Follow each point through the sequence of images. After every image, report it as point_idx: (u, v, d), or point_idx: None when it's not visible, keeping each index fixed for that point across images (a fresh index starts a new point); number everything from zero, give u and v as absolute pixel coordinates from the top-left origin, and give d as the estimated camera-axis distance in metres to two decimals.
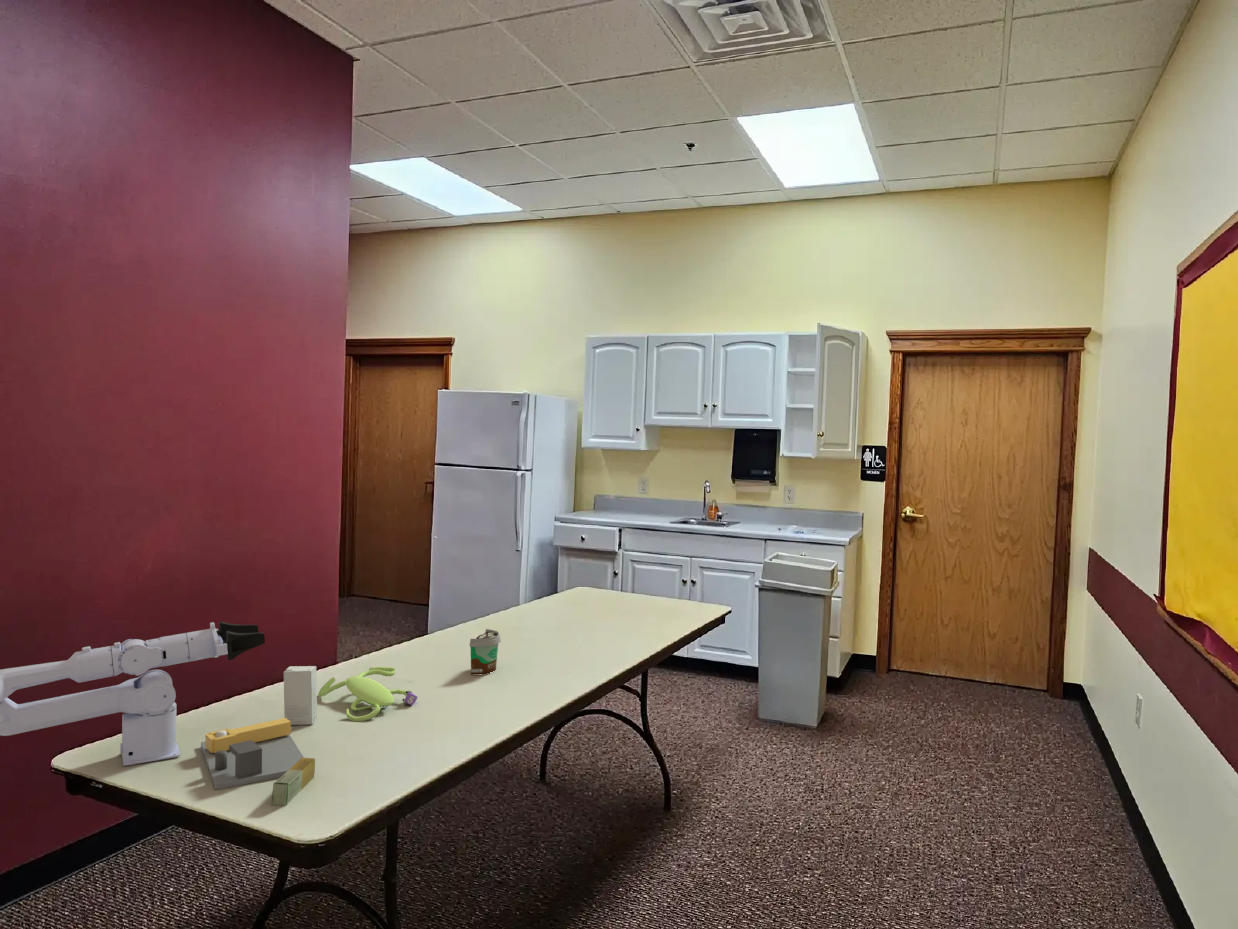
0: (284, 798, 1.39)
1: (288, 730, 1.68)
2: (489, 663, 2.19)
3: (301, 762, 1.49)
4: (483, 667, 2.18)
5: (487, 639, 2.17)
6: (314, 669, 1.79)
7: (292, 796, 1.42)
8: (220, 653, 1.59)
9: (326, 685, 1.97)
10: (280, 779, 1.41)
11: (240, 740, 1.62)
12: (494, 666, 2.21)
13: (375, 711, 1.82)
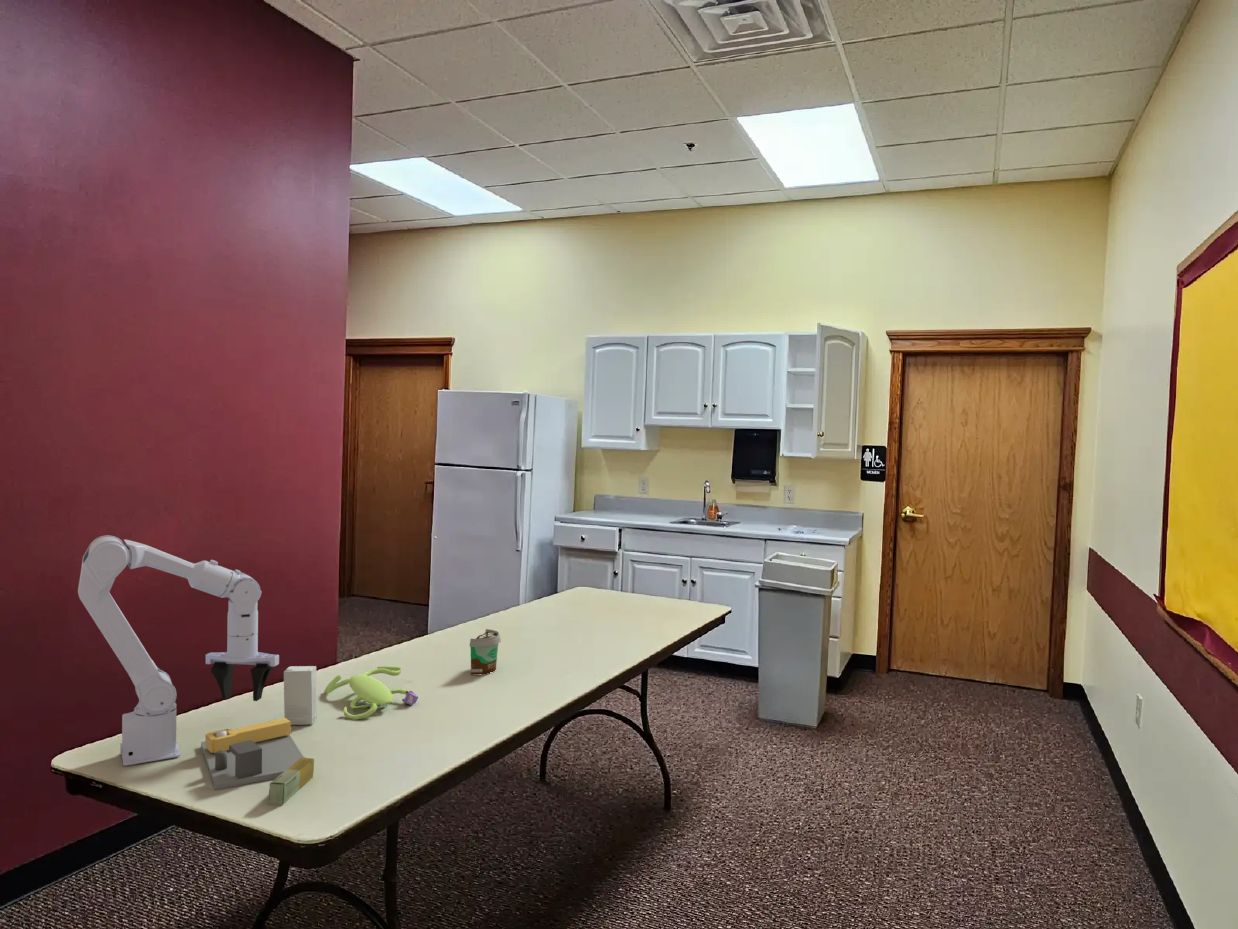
0: (280, 798, 1.39)
1: (288, 730, 1.68)
2: (489, 663, 2.19)
3: (300, 762, 1.49)
4: (483, 667, 2.18)
5: (487, 639, 2.17)
6: (314, 669, 1.79)
7: (289, 796, 1.42)
8: (275, 659, 1.67)
9: (331, 683, 1.99)
10: (277, 779, 1.41)
11: (240, 740, 1.62)
12: (494, 666, 2.21)
13: (371, 710, 1.83)
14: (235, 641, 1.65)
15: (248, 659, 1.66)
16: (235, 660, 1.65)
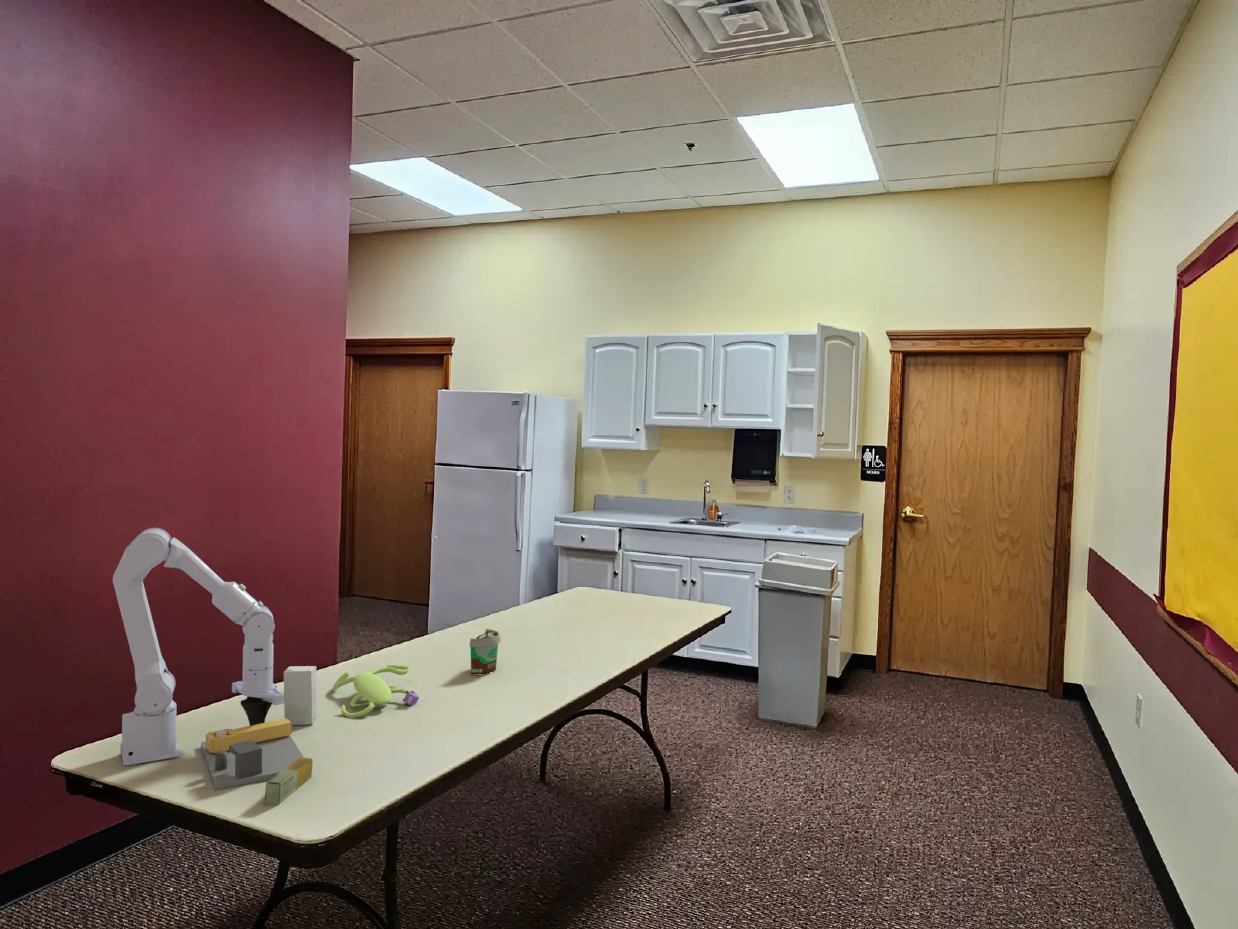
0: (276, 797, 1.39)
1: (288, 730, 1.68)
2: (489, 663, 2.19)
3: (298, 762, 1.49)
4: (483, 667, 2.18)
5: (487, 639, 2.17)
6: (314, 669, 1.79)
7: (286, 796, 1.42)
8: (277, 698, 1.63)
9: (338, 680, 2.02)
10: (273, 778, 1.41)
11: (240, 740, 1.61)
12: (494, 666, 2.21)
13: (367, 709, 1.83)
14: (245, 674, 1.65)
15: (254, 694, 1.64)
16: (244, 693, 1.64)
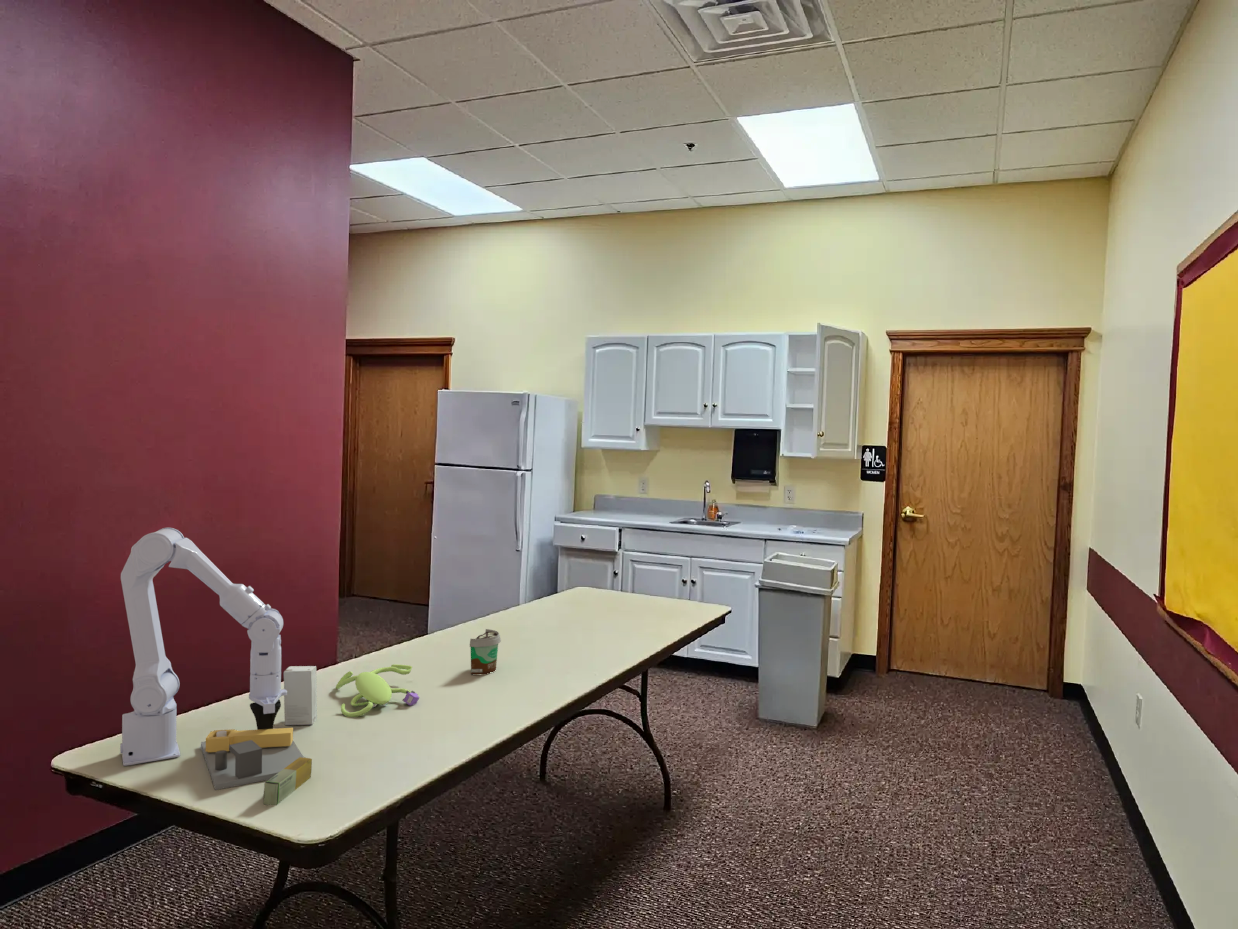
0: (275, 797, 1.39)
1: (287, 741, 1.62)
2: (489, 663, 2.19)
3: (297, 762, 1.49)
4: (483, 667, 2.18)
5: (487, 639, 2.17)
6: (314, 669, 1.79)
7: (284, 796, 1.42)
8: (266, 707, 1.58)
9: (342, 679, 2.02)
10: (272, 778, 1.41)
11: None
12: (494, 666, 2.21)
13: (366, 708, 1.84)
14: (250, 677, 1.63)
15: (253, 699, 1.61)
16: (249, 696, 1.63)
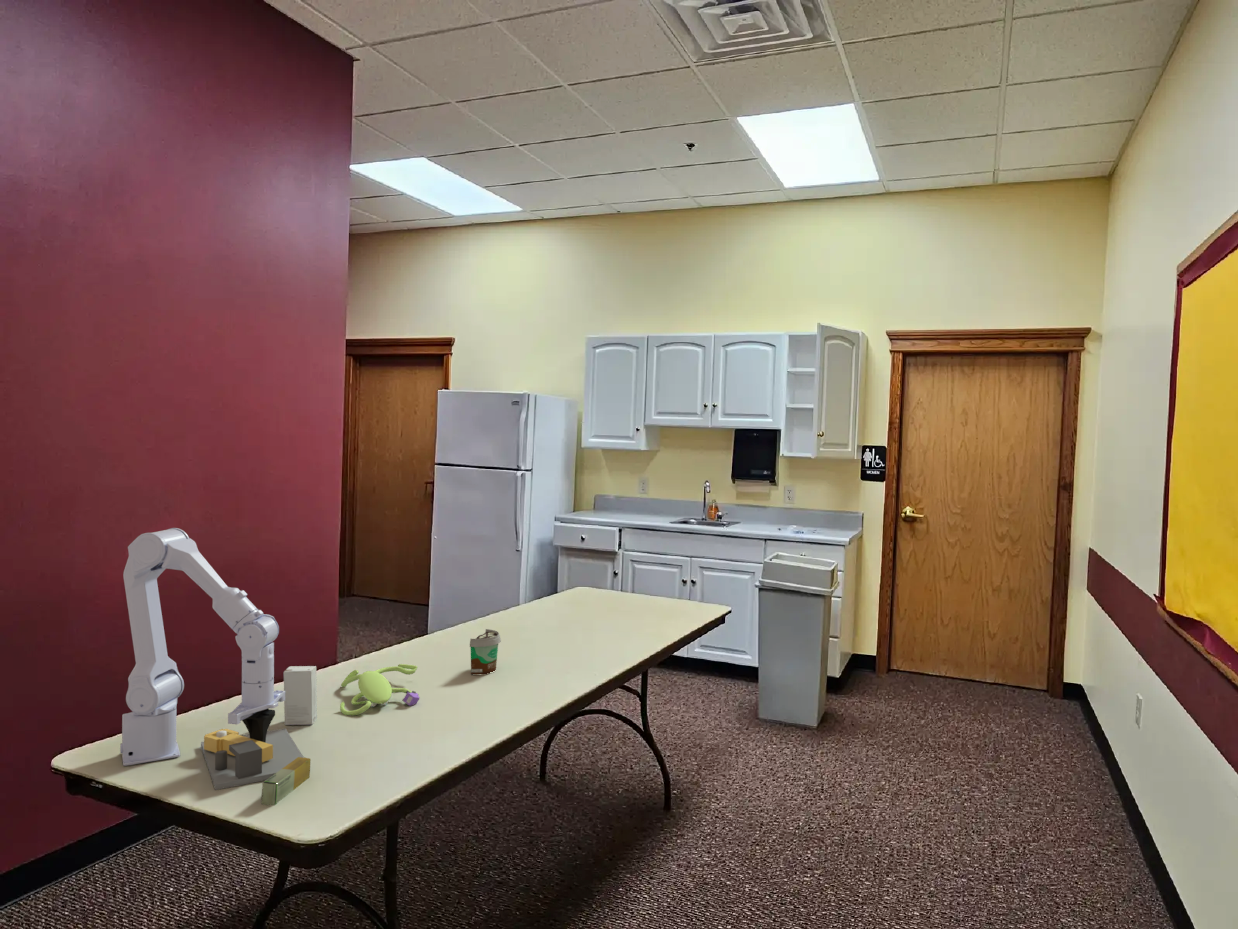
0: (273, 797, 1.39)
1: None
2: (489, 663, 2.19)
3: (296, 762, 1.49)
4: (483, 667, 2.18)
5: (487, 639, 2.17)
6: (314, 669, 1.79)
7: (282, 795, 1.42)
8: (229, 717, 1.52)
9: (347, 677, 2.04)
10: (270, 778, 1.41)
11: (224, 747, 1.58)
12: (494, 666, 2.21)
13: (364, 707, 1.84)
14: None
15: None
16: None
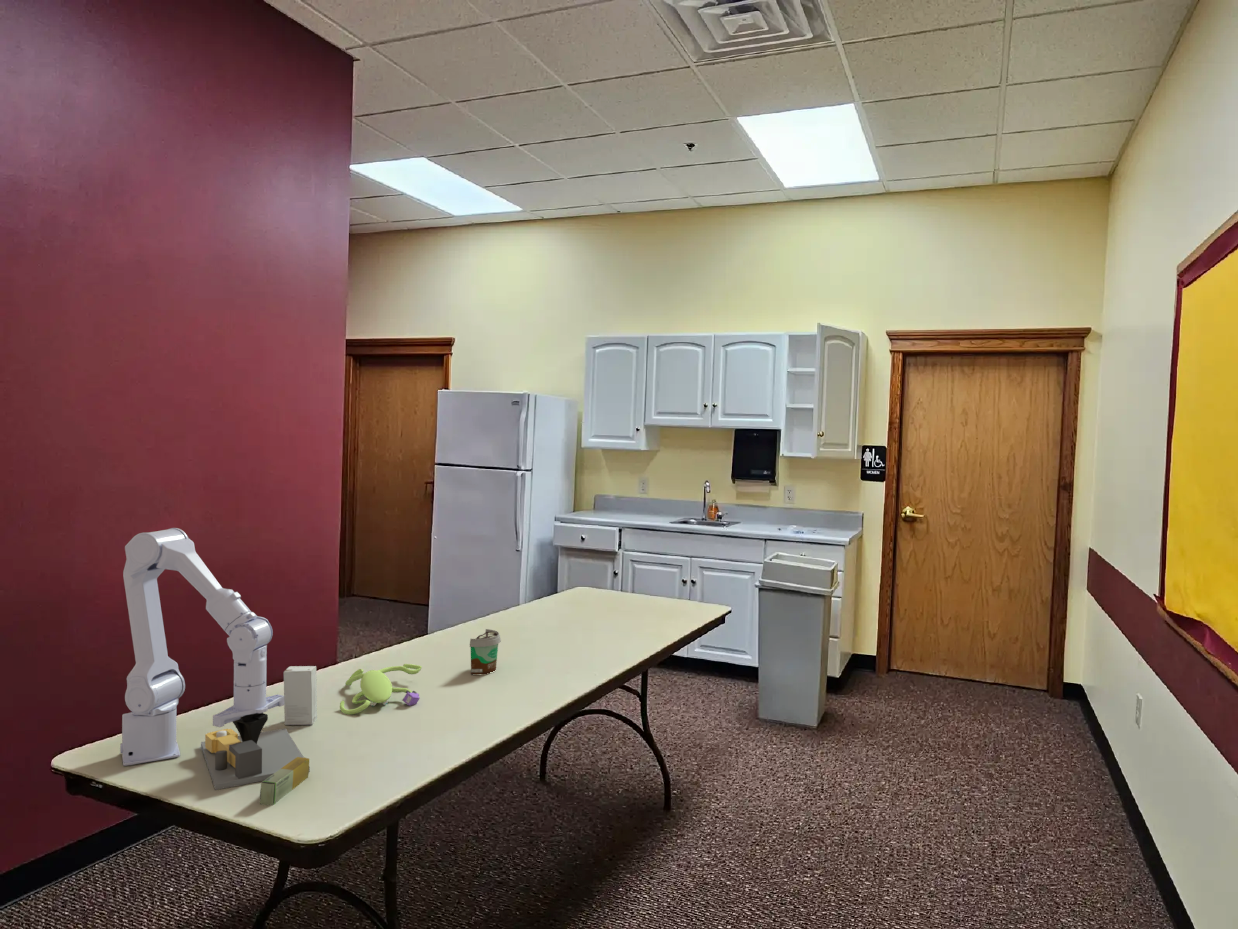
0: (271, 797, 1.40)
1: None
2: (489, 663, 2.19)
3: (294, 762, 1.49)
4: (483, 667, 2.18)
5: (487, 639, 2.17)
6: (314, 669, 1.79)
7: (281, 795, 1.42)
8: (214, 719, 1.51)
9: (352, 676, 2.05)
10: (269, 778, 1.41)
11: (218, 748, 1.57)
12: (494, 666, 2.21)
13: (362, 706, 1.85)
14: None
15: None
16: None
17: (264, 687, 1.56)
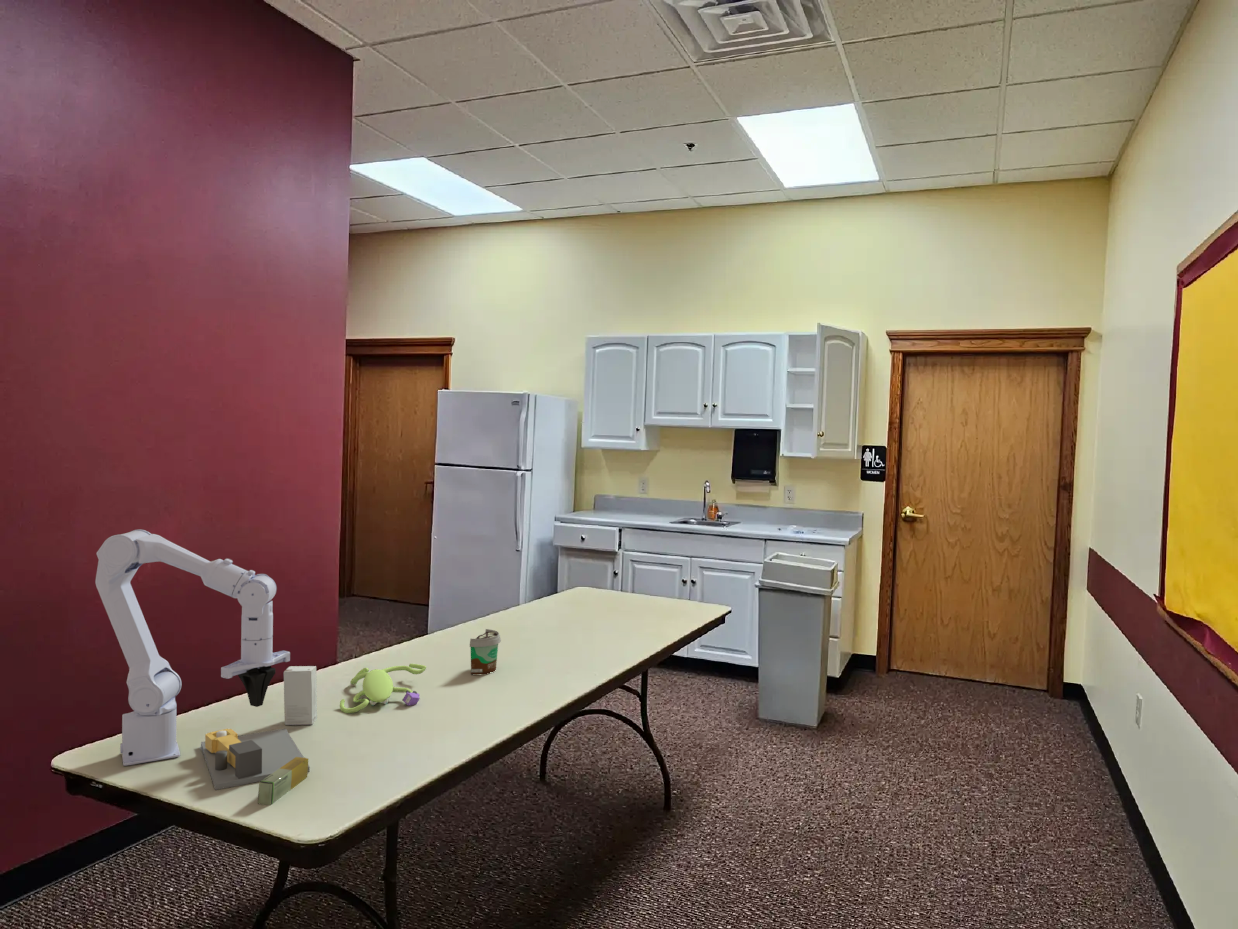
0: (269, 797, 1.40)
1: None
2: (489, 663, 2.19)
3: (293, 761, 1.49)
4: (483, 667, 2.18)
5: (487, 639, 2.17)
6: (314, 669, 1.79)
7: (279, 795, 1.42)
8: (222, 670, 1.55)
9: (357, 675, 2.06)
10: (267, 778, 1.41)
11: (218, 748, 1.57)
12: (494, 666, 2.21)
13: (360, 705, 1.86)
14: None
15: None
16: None
17: (271, 642, 1.61)
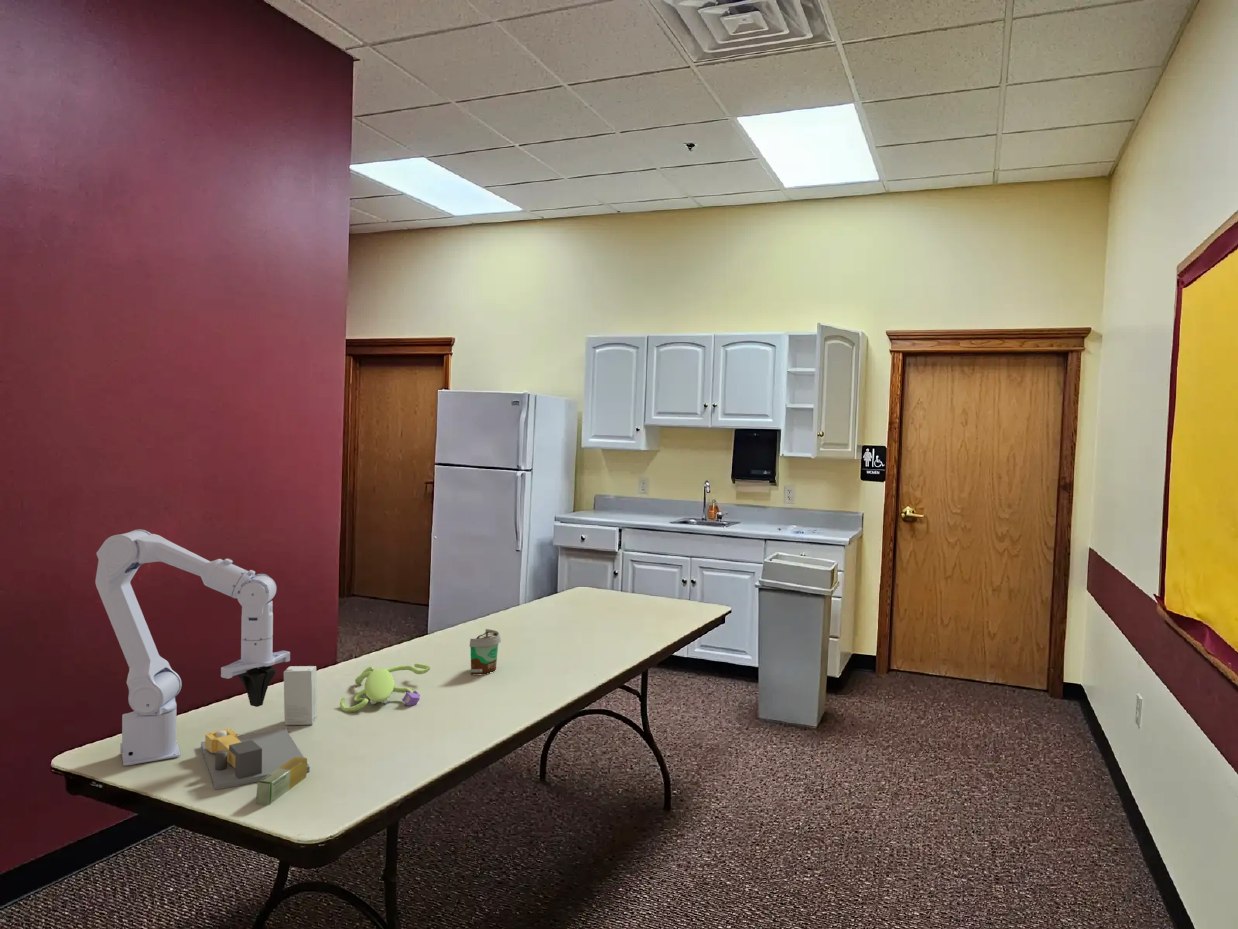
0: (267, 797, 1.40)
1: None
2: (489, 663, 2.19)
3: (292, 761, 1.49)
4: (483, 667, 2.18)
5: (487, 639, 2.17)
6: (314, 669, 1.79)
7: (278, 795, 1.42)
8: (222, 670, 1.55)
9: (362, 673, 2.07)
10: (265, 778, 1.41)
11: (218, 748, 1.57)
12: (494, 666, 2.21)
13: (359, 704, 1.86)
14: None
15: None
16: None
17: (271, 642, 1.61)
